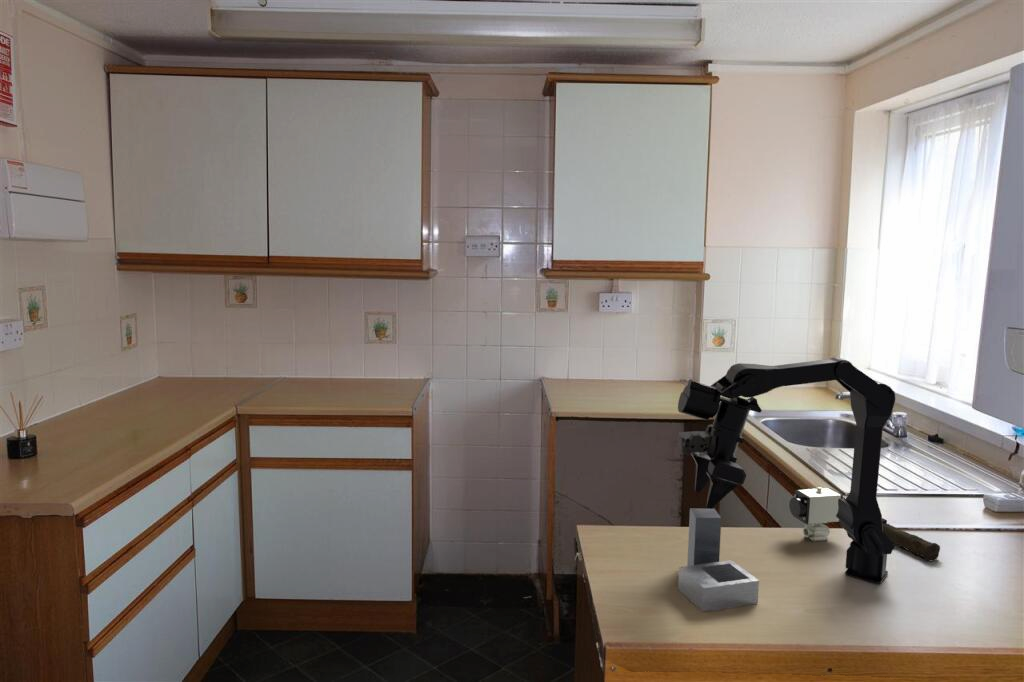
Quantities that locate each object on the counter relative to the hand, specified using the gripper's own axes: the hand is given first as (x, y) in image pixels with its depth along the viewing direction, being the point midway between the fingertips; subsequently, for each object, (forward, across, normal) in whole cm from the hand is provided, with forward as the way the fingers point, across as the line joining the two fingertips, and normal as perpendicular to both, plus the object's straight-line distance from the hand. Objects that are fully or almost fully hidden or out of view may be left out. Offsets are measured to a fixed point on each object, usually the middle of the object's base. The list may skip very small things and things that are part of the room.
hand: (702, 499), depth 142 cm
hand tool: (+2, -15, +50) cm, 52 cm away
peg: (+15, 0, +5) cm, 15 cm away
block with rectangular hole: (+14, +10, +5) cm, 18 cm away
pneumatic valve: (+7, -18, +34) cm, 39 cm away
